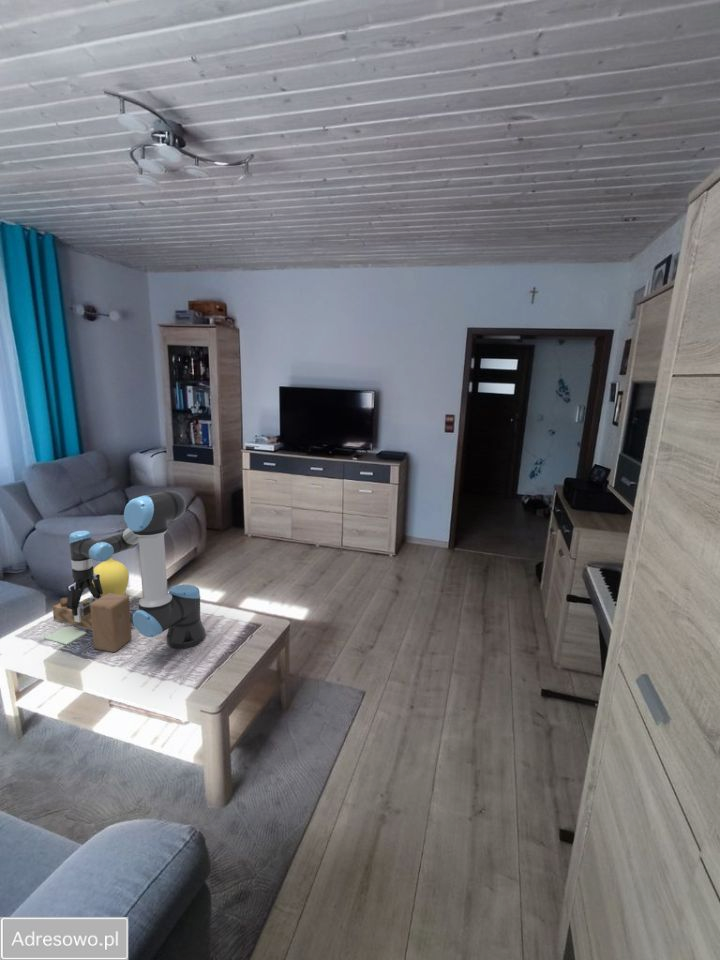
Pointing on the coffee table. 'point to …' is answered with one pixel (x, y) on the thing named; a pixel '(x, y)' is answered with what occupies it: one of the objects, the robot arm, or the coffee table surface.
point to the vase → (112, 577)
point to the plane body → (70, 616)
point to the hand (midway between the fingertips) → (86, 616)
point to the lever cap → (85, 606)
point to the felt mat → (65, 635)
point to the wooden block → (111, 622)
